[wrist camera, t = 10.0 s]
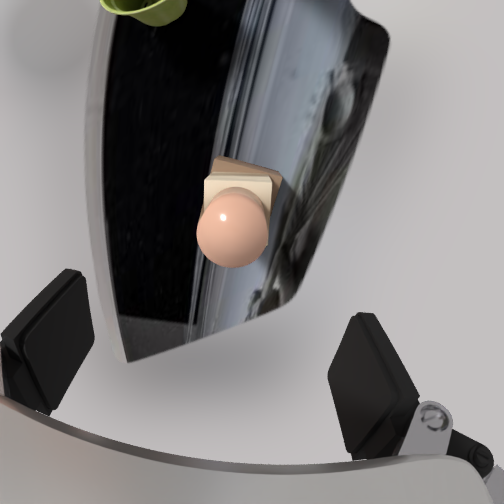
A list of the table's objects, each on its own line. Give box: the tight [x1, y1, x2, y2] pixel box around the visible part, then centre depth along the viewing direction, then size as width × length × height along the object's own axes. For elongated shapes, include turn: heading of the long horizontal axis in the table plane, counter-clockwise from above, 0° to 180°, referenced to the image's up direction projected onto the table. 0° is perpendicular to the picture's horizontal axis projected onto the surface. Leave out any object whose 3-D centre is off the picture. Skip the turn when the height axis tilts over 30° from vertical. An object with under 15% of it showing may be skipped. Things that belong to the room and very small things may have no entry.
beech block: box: [204, 172, 272, 246], centre depth 27 cm, size 6×6×6 cm
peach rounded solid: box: [197, 187, 268, 268], centre depth 22 cm, size 5×5×5 cm
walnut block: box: [198, 155, 283, 224], centre depth 32 cm, size 7×7×5 cm
